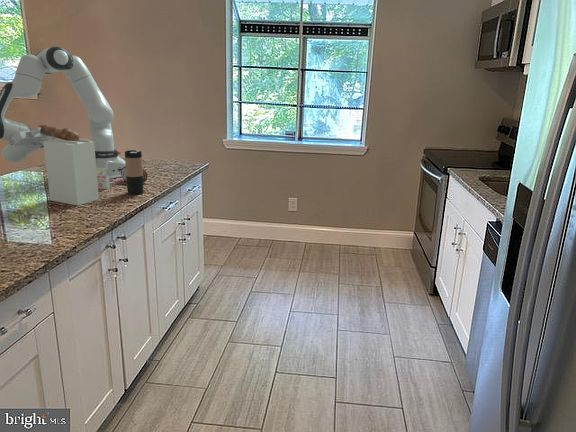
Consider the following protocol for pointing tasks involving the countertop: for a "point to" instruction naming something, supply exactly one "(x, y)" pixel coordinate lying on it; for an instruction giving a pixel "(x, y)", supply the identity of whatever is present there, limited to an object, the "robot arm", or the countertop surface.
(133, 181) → the travel mug
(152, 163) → the countertop surface
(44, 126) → the wooden turned rod
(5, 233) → the countertop surface
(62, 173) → the gray stand
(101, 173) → the small grey carton
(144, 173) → the tin
